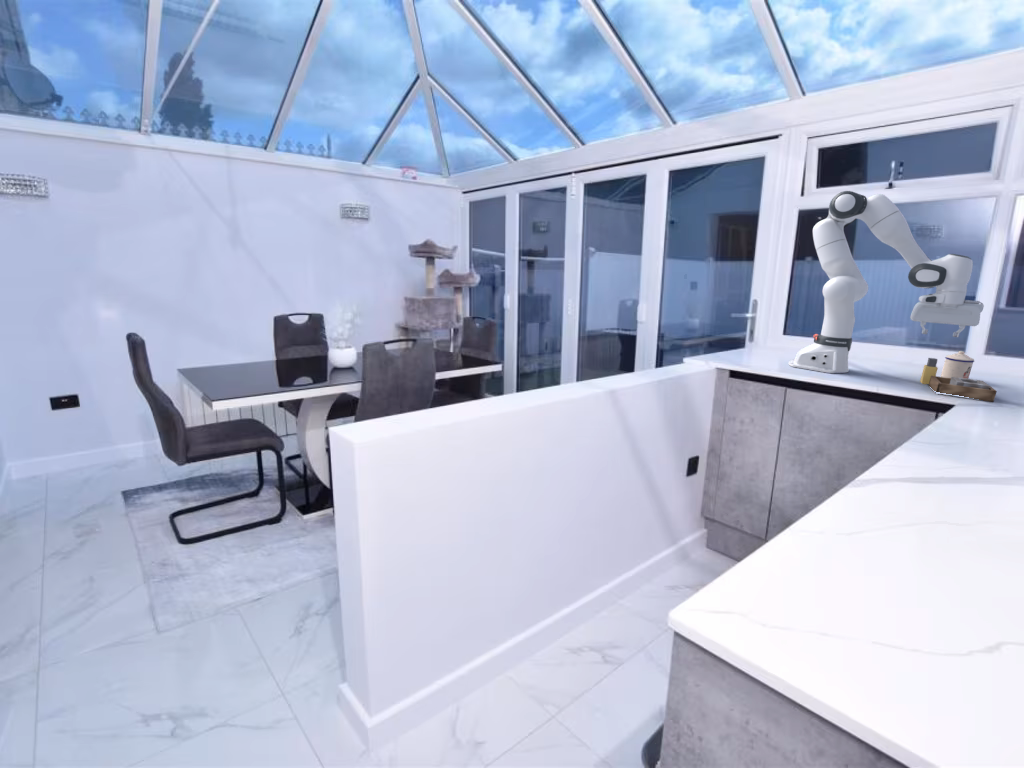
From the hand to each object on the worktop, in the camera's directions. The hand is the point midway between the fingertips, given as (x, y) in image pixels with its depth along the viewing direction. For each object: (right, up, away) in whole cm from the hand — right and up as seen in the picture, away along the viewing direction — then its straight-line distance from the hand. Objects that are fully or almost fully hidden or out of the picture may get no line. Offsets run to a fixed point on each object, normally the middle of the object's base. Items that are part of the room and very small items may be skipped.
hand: (939, 335), depth 196 cm
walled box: (+1, -22, -8) cm, 23 cm away
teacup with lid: (+19, -17, +16) cm, 30 cm away
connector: (-1, -18, +5) cm, 19 cm away
